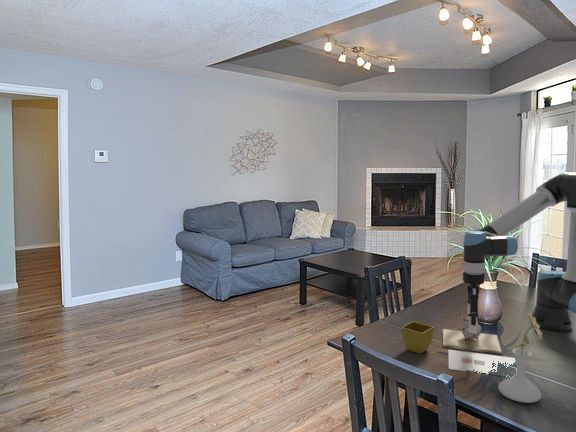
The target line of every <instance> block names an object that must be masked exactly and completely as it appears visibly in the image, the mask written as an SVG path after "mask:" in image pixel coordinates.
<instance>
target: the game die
mask: <svg viewBox="0 0 576 432" xmlns="http://www.w3.org/2000/svg"><path fill="white" fill-rule="evenodd" d="M462 320H463V322H462V324H461V326H460V328H457V331H461V332H462V334H463V335H464V337H465V340H466V339H477V340H478V341H479V339H478V337H479V335H480V334H481V333H482V331H485V329H484V328H482V327H481V326H480V324H479V323H478V321H477V334H476V333H469V320H467V319H465V318H464V317H463V318H462Z"/></svg>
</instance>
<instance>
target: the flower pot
mask: <svg viewBox="0 0 576 432" xmlns="http://www.w3.org/2000/svg"><path fill="white" fill-rule="evenodd" d="M434 330H435V327H434V326H432V325H428V324H425V323H424V324H423V323H420V322H417V321H411V322H409V323H407V324H404V325H403V326H402V327H401V335H402V336H401V337H402V341H403V343H404V346H405V348H406V349H407V350H408V351H411V352H413V353H416V354H423V353H424V352H426V351H427V350H428V349H429V347H430V345H431V344H432V340H433V335H434Z"/></svg>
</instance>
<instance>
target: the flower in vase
mask: <svg viewBox="0 0 576 432" xmlns="http://www.w3.org/2000/svg"><path fill="white" fill-rule="evenodd" d="M527 318H528V322H529V327H528V328H527V330H526V331H525V333H524V335H523V338H522V343H520V345H519V344H518V347H521V348H514V349H512V353H513V355H514V356H515V357H514V358H515V360H516V363H517V369H516V374H515V375H514V376H512V377H510V378H509V377H506V378H505V379H503V380H502V381H500V382H499V384H498V386H497V387H498V391H499V392H500V393H501V395H503V396H504V397H505V398H508V399H510V400H512V401H516V402H519V403H526V404H530V403H531V404H532V403H536V402H539V401H540V400H541V399H542V393H541V391H540V389H539V388H538V387H537V385H535V384H534V383H533V382H532V381H530V380H529V379H528V378H527V375H526V367H527V362H528V359H529V358H530V357H531V356H532V352H531V351H529V350H527V349H523V348H525V347H527V346H528V345H529V344H530V339H529V337H528V336H527V334H528V332H530V330H531V329H532V331H533V333H534V335H535V336H536V338H537V339H539V340H542V339H543V333H542V331H541V330H540V329H541V328H540V326H539V325H538V324H537V322H536V319H535V317H534V318H533V317H532V313H531V312H530V313H529V312H528V313H527Z"/></svg>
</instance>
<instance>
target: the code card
mask: <svg viewBox="0 0 576 432" xmlns="http://www.w3.org/2000/svg"><path fill="white" fill-rule="evenodd" d="M447 352H448V370H454V371H461V372H467V371H468V370H470V371H473V370H475V371H474V372H476V371H478V372H477V373H476V374H481V373H486V374H485V375H488V374H489V373H488V372H490V371H491V370H493V369H495V370H496V371H495V372H497V367H498V366H497V365H498V361H499V363H500V362H501V364H502V363H504V364H505V362H506V364H507V363H508V364H507V365H506V366H507V367H508V366H509V364H510V365H511V364H512V365H513V363H515V361H516V357H511V356H501V355H496V354H495V355H494V354H488V353H486V354H485V353H481V352H478V353H477V352H472V351H471V352H470V351H465V350H462V351H461V350H457V349H456V350H455V349H448V351H447ZM493 361H494V362H493ZM492 363H495V364H496V365H495V364H494V365H495V366H496V367H495V366H494V367H493V368H492V366H493V365H492ZM504 366H505V365H504ZM507 367H506V368H507ZM465 369H466V370H467V371H466V370H465ZM470 371H469V373H471V372H470ZM481 371H482V372H481ZM474 372H473V373H474ZM479 372H480V373H479ZM492 372H494V370H493V371H492ZM507 376H508V375H507ZM507 376H506V377H505V378H509V377H510V376H509V377H507Z"/></svg>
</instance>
